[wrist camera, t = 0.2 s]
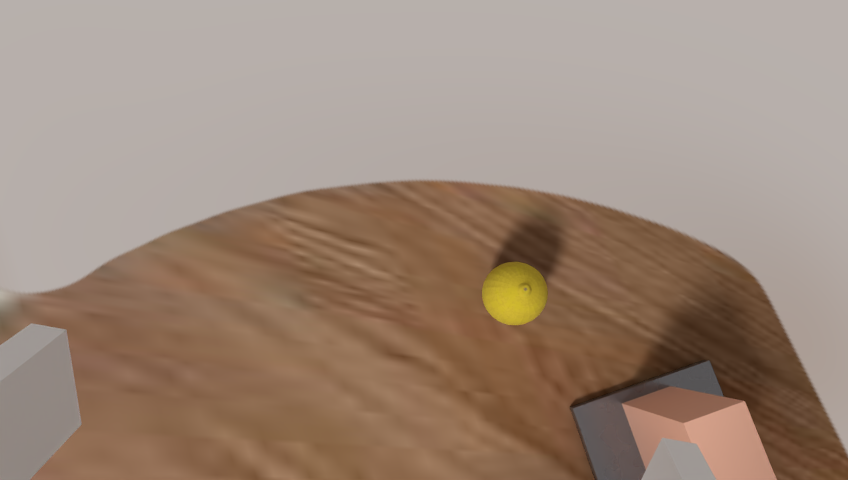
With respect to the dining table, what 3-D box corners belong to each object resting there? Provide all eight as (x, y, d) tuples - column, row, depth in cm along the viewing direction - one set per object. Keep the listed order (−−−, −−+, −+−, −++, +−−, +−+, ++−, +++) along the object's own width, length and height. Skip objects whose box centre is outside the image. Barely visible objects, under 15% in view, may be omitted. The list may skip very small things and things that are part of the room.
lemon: (535, 272, 48) (562, 260, 40) (529, 329, 47) (556, 329, 39) (479, 263, 48) (495, 250, 40) (472, 321, 47) (487, 319, 39)
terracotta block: (708, 484, 45) (796, 527, 35) (658, 503, 44) (733, 552, 34) (670, 386, 46) (744, 401, 36) (621, 403, 46) (683, 423, 36)
